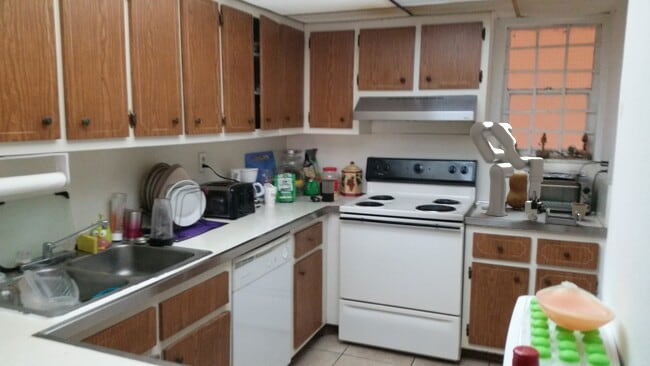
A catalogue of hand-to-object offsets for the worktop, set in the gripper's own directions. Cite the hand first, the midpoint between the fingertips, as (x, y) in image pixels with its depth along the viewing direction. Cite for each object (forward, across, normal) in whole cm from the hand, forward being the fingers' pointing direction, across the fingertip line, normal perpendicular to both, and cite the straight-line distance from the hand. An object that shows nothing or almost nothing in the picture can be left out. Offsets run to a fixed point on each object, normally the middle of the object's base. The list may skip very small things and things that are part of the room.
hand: (535, 208), depth 299 cm
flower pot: (+8, -22, +22) cm, 32 cm away
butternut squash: (+7, -35, -15) cm, 39 cm away
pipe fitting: (+8, -2, +14) cm, 16 cm away
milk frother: (+3, +9, -137) cm, 137 cm away
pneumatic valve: (+8, 0, -1) cm, 8 cm away
